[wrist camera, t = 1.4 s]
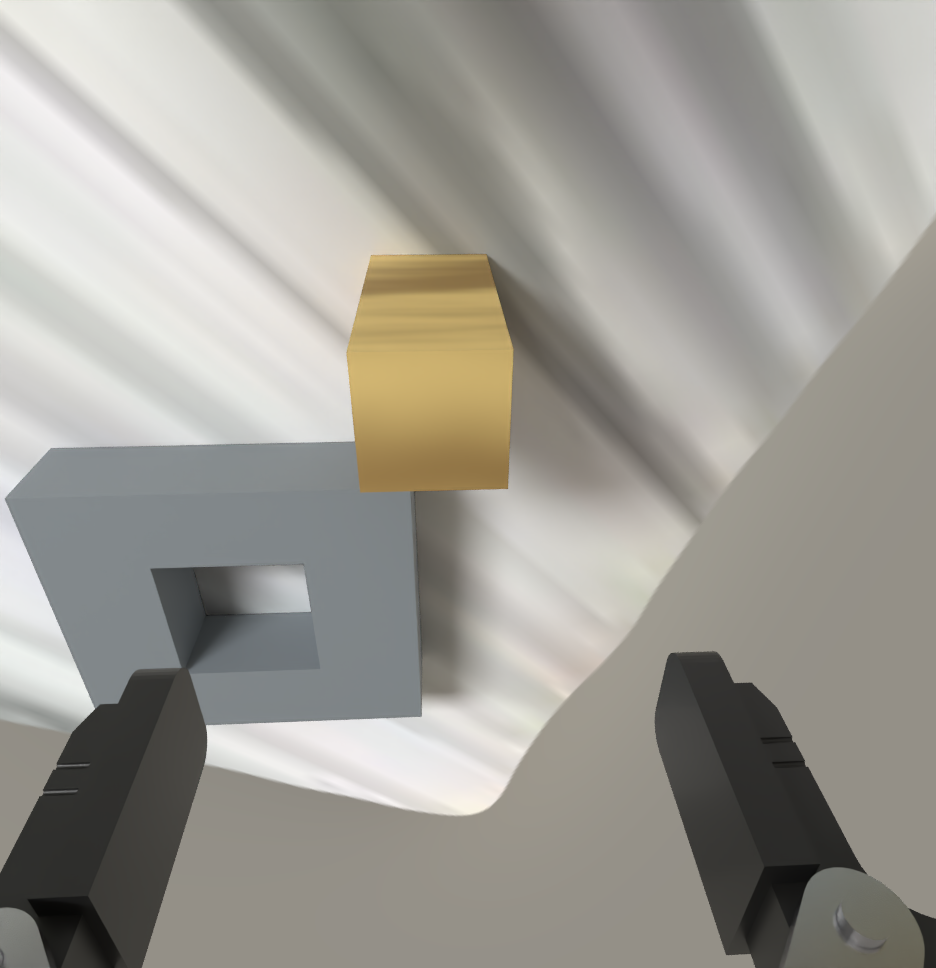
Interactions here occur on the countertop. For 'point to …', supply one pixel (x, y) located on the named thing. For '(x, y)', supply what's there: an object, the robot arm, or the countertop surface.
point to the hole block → (230, 542)
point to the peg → (430, 376)
